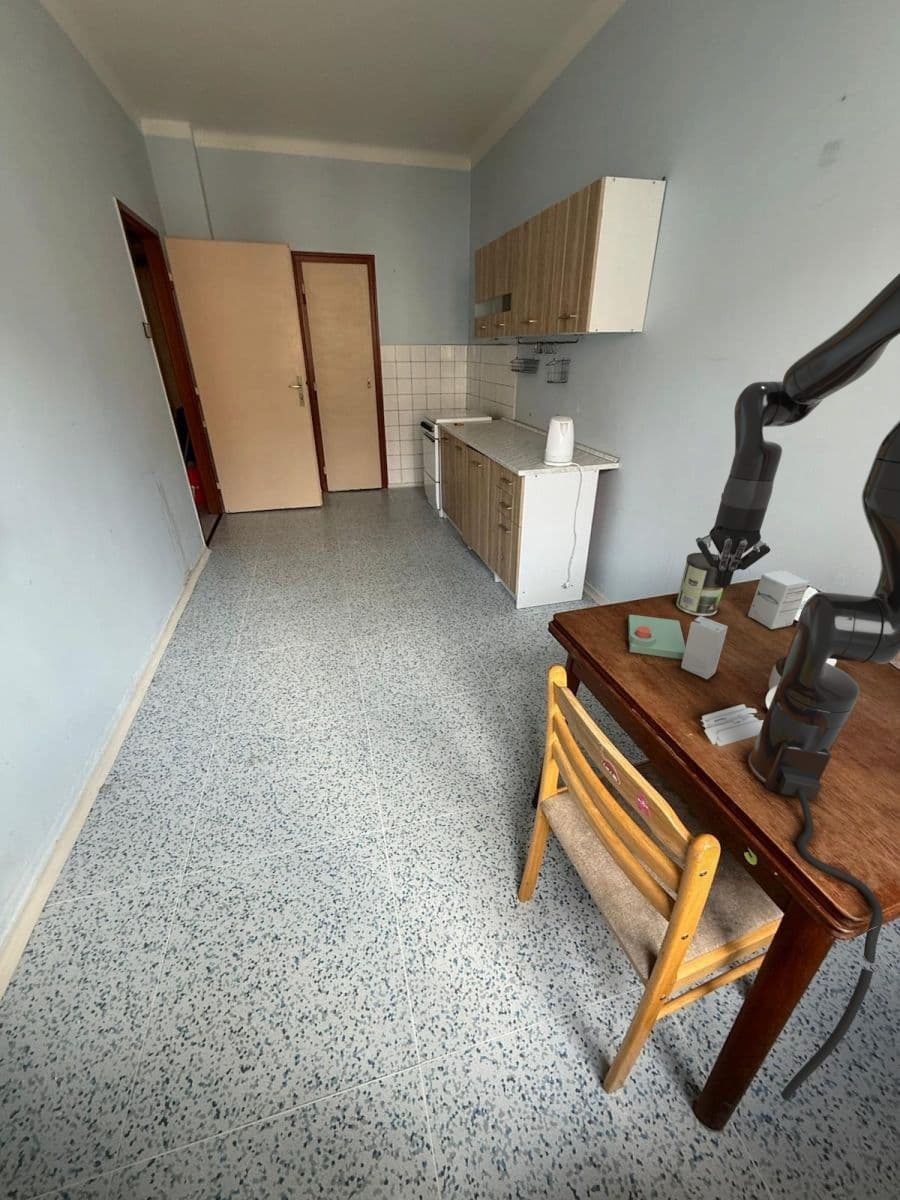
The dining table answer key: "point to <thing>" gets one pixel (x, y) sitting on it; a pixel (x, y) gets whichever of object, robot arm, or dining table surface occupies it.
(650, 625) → the green kitchen scale
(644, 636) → the button
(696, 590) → the coffee can
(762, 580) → the white packaging box
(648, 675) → the dining table surface
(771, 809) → the dining table surface
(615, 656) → the dining table surface
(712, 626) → the cosmetic box
